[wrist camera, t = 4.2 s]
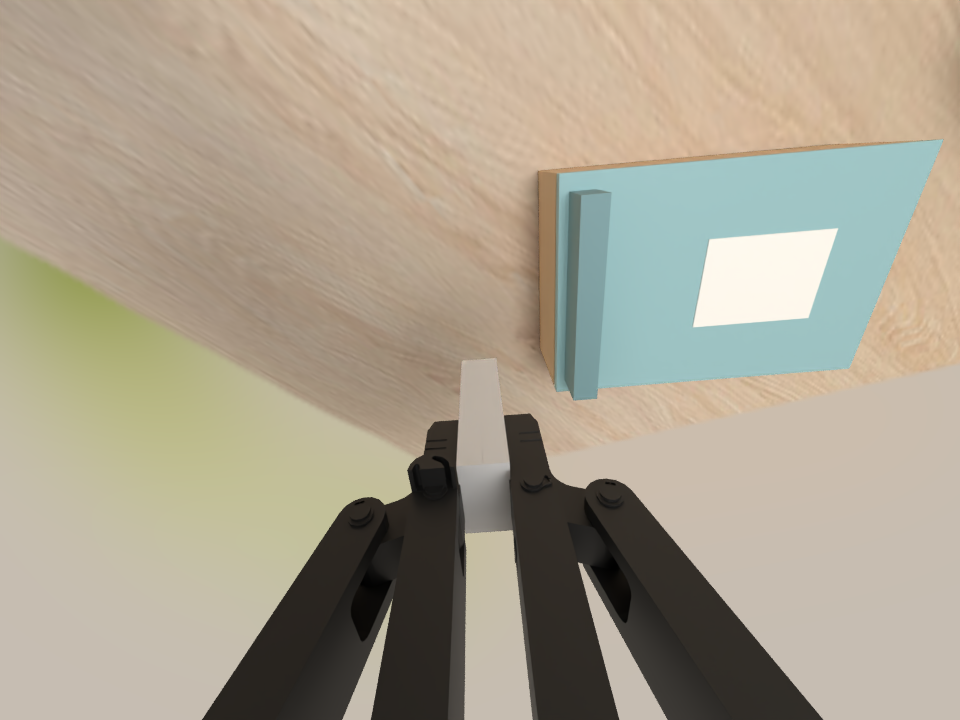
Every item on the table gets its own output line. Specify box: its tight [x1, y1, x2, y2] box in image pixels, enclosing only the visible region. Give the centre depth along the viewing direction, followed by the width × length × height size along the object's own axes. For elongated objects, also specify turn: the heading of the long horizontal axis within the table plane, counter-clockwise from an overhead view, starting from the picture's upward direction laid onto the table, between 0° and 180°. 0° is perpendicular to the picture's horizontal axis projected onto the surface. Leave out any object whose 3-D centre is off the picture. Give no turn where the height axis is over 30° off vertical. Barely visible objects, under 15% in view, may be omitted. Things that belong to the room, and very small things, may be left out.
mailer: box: [538, 140, 923, 384], centre depth 30 cm, size 22×15×7 cm
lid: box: [554, 139, 944, 400], centre depth 25 cm, size 22×15×4 cm
